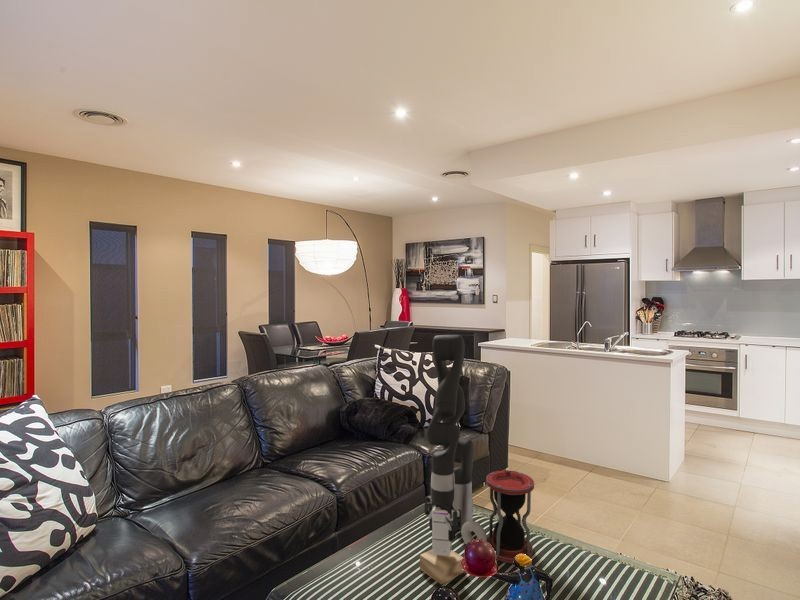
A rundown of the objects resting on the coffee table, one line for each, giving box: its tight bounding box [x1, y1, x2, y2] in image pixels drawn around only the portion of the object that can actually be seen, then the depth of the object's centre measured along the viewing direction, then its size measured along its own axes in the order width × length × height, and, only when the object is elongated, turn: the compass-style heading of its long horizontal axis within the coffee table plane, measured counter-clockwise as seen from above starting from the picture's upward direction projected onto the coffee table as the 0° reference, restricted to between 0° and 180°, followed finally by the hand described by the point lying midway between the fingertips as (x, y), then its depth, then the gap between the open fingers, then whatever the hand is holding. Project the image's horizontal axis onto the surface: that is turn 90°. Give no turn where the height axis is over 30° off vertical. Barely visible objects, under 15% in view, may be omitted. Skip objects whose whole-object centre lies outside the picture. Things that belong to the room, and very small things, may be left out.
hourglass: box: [485, 470, 535, 564], centre depth 165 cm, size 16×16×25 cm
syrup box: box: [431, 505, 453, 556], centre depth 153 cm, size 6×6×14 cm
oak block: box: [419, 548, 465, 585], centre depth 154 cm, size 10×10×5 cm
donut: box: [460, 520, 488, 545], centre depth 166 cm, size 10×4×10 cm, turn 47°
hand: (442, 534), depth 153 cm, fingers closed on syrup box, 7 cm apart
